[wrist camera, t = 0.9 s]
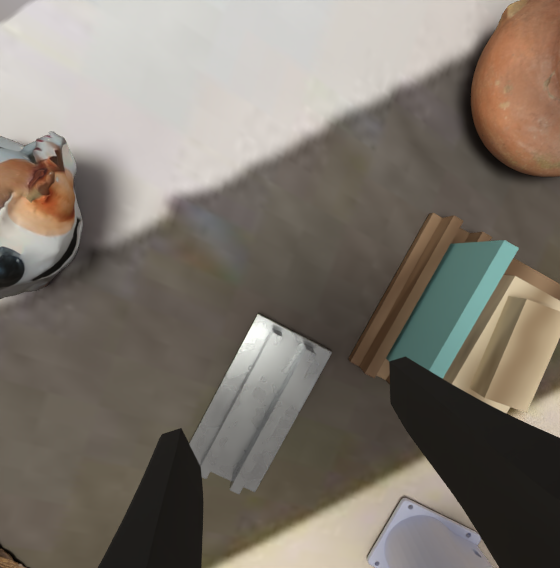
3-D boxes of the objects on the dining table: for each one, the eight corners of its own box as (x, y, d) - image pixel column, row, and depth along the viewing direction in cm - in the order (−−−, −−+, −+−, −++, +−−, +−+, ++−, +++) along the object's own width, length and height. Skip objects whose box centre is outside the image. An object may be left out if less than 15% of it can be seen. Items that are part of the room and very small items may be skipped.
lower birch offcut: (550, 303, 30) (570, 306, 28) (487, 409, 31) (502, 420, 29) (498, 274, 29) (515, 275, 27) (435, 382, 30) (447, 391, 28)
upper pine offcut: (548, 310, 28) (569, 315, 26) (508, 401, 29) (526, 412, 27) (508, 295, 28) (526, 299, 26) (469, 387, 28) (484, 397, 26)
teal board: (455, 250, 29) (518, 248, 22) (392, 360, 30) (433, 395, 22) (444, 244, 29) (504, 239, 22) (381, 355, 30) (418, 387, 22)
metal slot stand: (330, 350, 30) (336, 358, 28) (255, 486, 32) (253, 506, 29) (258, 312, 30) (257, 318, 27) (184, 452, 31) (176, 470, 28)
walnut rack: (566, 291, 31) (593, 294, 28) (483, 429, 32) (502, 444, 29) (429, 214, 30) (444, 209, 27) (348, 359, 31) (355, 368, 28)
